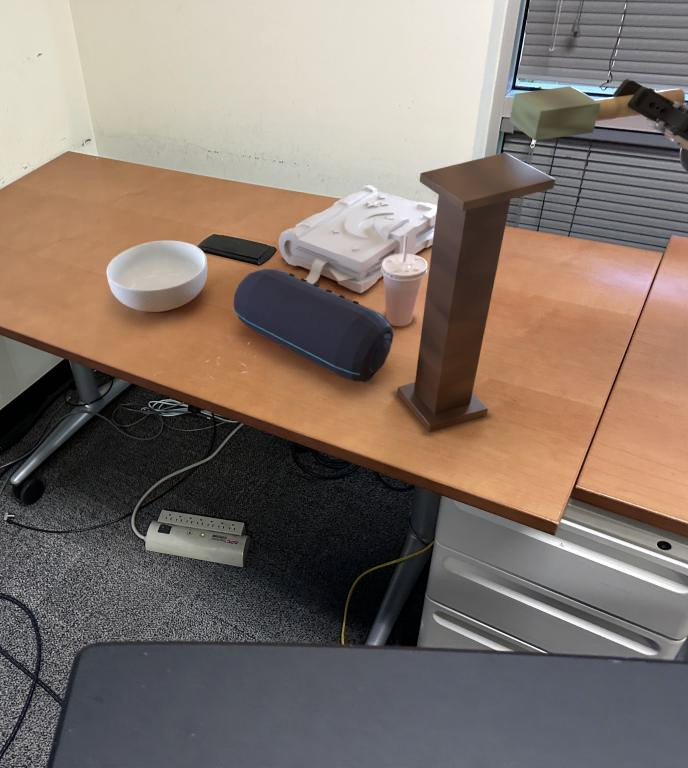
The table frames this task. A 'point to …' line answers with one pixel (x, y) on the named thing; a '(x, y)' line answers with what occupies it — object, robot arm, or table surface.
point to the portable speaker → (315, 323)
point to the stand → (463, 281)
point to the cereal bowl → (158, 275)
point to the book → (358, 237)
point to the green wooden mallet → (570, 111)
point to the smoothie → (402, 285)
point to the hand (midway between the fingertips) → (628, 92)
